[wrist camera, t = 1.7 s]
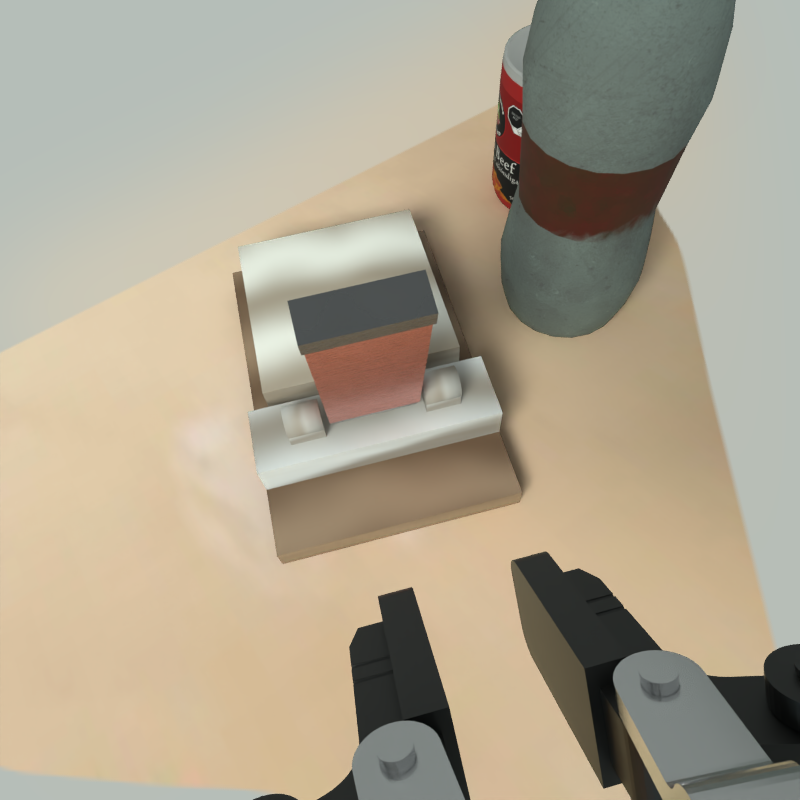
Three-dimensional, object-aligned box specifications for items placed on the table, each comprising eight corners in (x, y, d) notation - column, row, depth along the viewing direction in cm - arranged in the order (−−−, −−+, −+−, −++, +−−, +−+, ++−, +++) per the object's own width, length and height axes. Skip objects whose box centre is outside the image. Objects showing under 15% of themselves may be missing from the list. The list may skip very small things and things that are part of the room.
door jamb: (519, 502, 38) (532, 459, 33) (282, 563, 36) (257, 529, 31) (424, 245, 48) (422, 182, 43) (238, 286, 47) (214, 227, 42)
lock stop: (420, 409, 36) (438, 313, 23) (330, 431, 36) (297, 346, 23) (412, 379, 37) (425, 269, 24) (323, 401, 36) (287, 300, 23)
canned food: (488, 155, 53) (500, 19, 43) (588, 153, 52) (621, 15, 43) (492, 224, 49) (506, 90, 39) (600, 222, 48) (640, 87, 39)
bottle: (642, 341, 43) (955, -322, 17) (504, 350, 43) (605, -292, 17) (612, 237, 48) (821, -406, 22) (488, 246, 48) (548, -382, 22)
